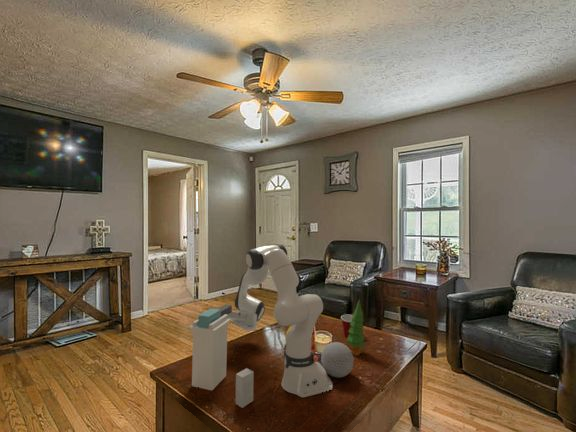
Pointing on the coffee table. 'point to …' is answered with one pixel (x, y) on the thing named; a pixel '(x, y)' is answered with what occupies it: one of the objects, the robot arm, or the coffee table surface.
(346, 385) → the coffee table surface
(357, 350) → the decorative tree
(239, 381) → the skincare box
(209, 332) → the cable duct stand
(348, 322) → the plastic cup
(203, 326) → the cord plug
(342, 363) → the decorative ball
